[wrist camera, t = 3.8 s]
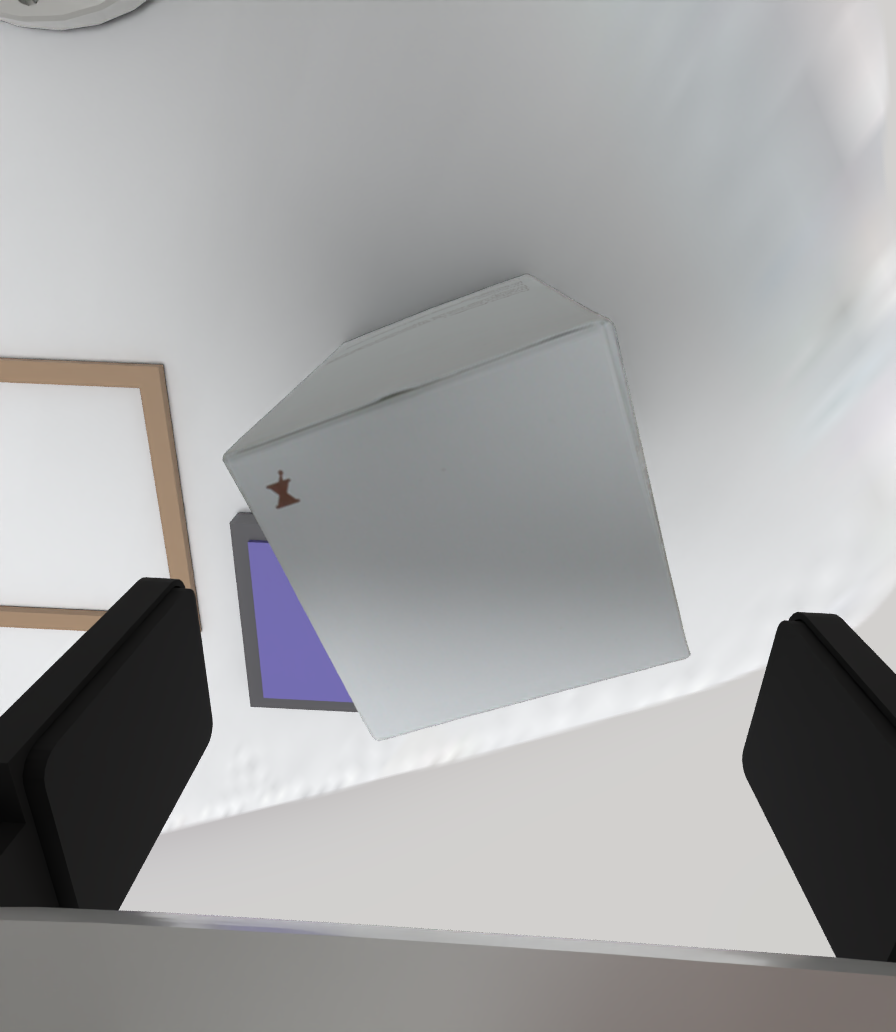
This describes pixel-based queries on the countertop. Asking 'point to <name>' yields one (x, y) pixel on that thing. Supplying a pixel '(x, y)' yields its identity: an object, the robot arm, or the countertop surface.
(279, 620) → the ink pad
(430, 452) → the supplement box
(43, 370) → the tan picture frame
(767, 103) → the countertop surface
